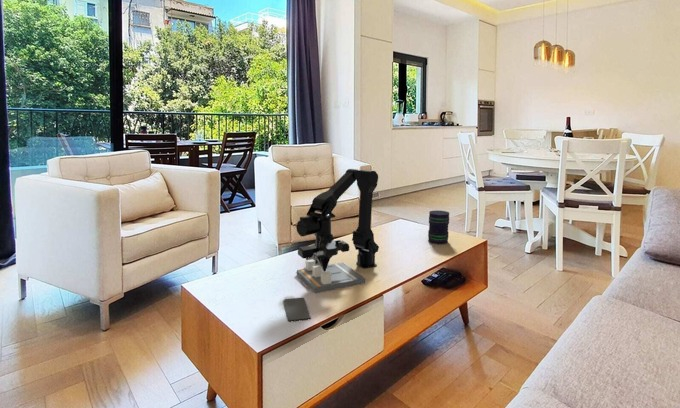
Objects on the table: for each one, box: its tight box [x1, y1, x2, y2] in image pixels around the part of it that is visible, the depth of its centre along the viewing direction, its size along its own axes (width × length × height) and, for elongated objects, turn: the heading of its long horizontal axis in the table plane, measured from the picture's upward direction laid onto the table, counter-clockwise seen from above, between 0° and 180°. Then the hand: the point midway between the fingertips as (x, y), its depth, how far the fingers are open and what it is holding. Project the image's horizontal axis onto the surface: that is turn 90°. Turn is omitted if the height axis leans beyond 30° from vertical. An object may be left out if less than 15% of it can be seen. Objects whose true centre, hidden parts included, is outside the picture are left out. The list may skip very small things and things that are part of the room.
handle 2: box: [321, 272, 331, 285], centre depth 140 cm, size 3×2×4 cm
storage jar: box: [427, 210, 450, 245], centre depth 196 cm, size 10×10×15 cm
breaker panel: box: [296, 262, 367, 294], centre depth 149 cm, size 20×19×2 cm
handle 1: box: [305, 259, 315, 271], centre depth 153 cm, size 3×2×4 cm
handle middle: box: [312, 265, 323, 277], centre depth 147 cm, size 3×2×4 cm
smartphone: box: [283, 296, 312, 323], centre depth 125 cm, size 7×1×15 cm
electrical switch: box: [305, 243, 321, 266], centre depth 165 cm, size 9×5×9 cm, turn 141°
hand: (324, 271), depth 148 cm, fingers closed
